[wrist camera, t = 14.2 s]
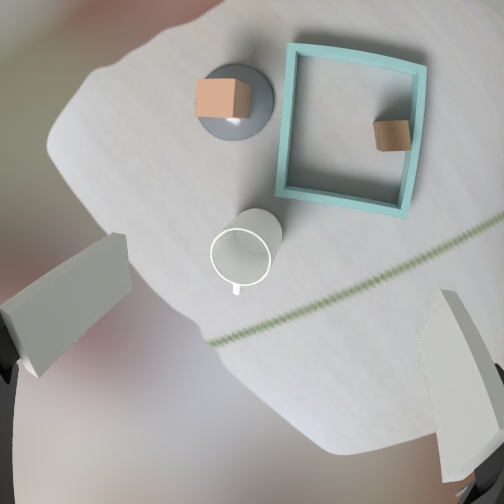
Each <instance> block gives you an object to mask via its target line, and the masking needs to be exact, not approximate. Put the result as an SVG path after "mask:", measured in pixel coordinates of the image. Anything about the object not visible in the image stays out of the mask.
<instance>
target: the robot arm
mask: <svg viewBox="0 0 504 504" xmlns="http://www.w3.org/2000/svg"><path fill="white" fill-rule="evenodd" d="M130 290H132V284H131V277H130V268H129V260H128V251H127V241H126V235H124V234H118V233H111V234H110V235H108V236H106V237H104V238H103V239H101V240H99V241H98V242H96V243H94V244H93V245H91V246H89V247H88V248H86V249H84V250H83V251H81V252H79V253H78V254H76V255H75V256H73V257H72V258H70V259H68V260H67V261H65V262H64V263H62V264H60V265H59V266H57V267H56V268H54V269H53V270H51V271H50V272H48V273H47V274H45V275H44V276H42V277H41V278H39V279H38V280H37V281H35V282H33V283H32V284H30V285H29V286H27V287H26V288H25V289H23V290H22V291H20V292H19V293H18V294H16V295H15V296H13V297H12V298H11V299H9V300H8V301H6V302H5V303H3V304H2V305H1V306H0V504H15V498H14V487H13V468H12V467H13V466H12V438H13V417H14V404H15V395H16V386H17V379H18V372H19V368H18V364H17V362H16V361H17V360H19V359H20V358H21V360H22V362H23V364H24V366H25V368H26V370H28V371H29V372H30V373H32V374H33V375H34V376H36V377H37V378H40V377H41V376H42V374H44V372H45V371H46V370H47V369H48V368H49V367H50V366H51V365H52V364H53V363H54V362H55V361H56V360H57V359H58V358H59V357H60V356H61V355H62V354H63V353H64V352H66V350H67V349H69V348H70V347H71V346H72V345H73V344H74V343H75V342H76V341H77V340H78V339H79V338H80V337H81V336H82V335H83V334H84V333H85V332H86V331H87V330H88V329H89V328H90V327H91V326H92V325H93V324H95V323H96V322H97V321H98V320H99V319H100V318H101V317H102V316H103V315H104V314H105V313H106V312H107V311H109V309H111V308H112V307H113V306H114V305H115V304H116V303H117V302H118V301H119V300H121V299H122V298H123V297H124V296H125V295H126V294H127V293H128V292H129V291H130ZM417 347H418V351H419V354H420V358H421V362H422V366H423V370H424V374H425V378H426V383H427V387H428V392H429V396H430V401H431V406H432V411H433V416H434V422H435V428H436V434H437V440H438V447H439V453H440V462H441V471H442V480H443V482H451V481H459V480H463V479H464V478H465V477H467V476H468V475H469V474H470V473H471V472H473V471H474V473H475V479H474V480H473V481H471V482H470V483H469V484H467V485H466V486H465V487H463V488H462V489H461V490H459V491H458V492H457V493H456V495H455V496H459V495H460V494H461V493H463V492H464V491H465V492H464V494H463V496H462V497H461V498H460V500H459V502H458V503H457V504H504V371H503V369H502V368H501V367H500V366H499V365H498V364H494V362H493V360H492V358H491V356H490V354H489V352H488V350H487V348H486V346H485V344H484V342H483V340H482V338H481V336H480V334H479V332H478V330H477V328H476V327H475V325H474V323H473V321H472V319H471V317H470V316H469V314H468V312H467V310H466V309H465V307H464V305H463V303H462V302H461V300H460V298H459V297H458V295H457V293H456V292H454V291H448V290H442V289H440V291H439V293H438V296H437V298H436V301H435V304H434V306H433V308H432V311H431V313H430V316H429V318H428V320H427V323H426V325H425V327H424V330H423V332H422V334H421V336H420V338H419V340H418V343H417Z"/></svg>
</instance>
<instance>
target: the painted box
mask: <svg viewBox="0 0 504 504" xmlns="http://www.w3.org/2000/svg"><path fill="white" fill-rule="evenodd" d="M251 89H252V86H250V85H248V84H246V83H243V82H241V81H239V80H237V79H197V91H196V106H195V116H197V117H221V118H244V119H249V116H250V102H251Z"/></svg>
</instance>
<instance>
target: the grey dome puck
mask: <svg viewBox="0 0 504 504" xmlns="http://www.w3.org/2000/svg"><path fill="white" fill-rule="evenodd" d="M206 79H237V80H239V81H241V82H243V83H246V84H248V85H250V86H252V89H251V102H250V116H249V119H244V118H221V117H198V118H199V121H200V122H201V124H202V126H203V127H204V128H205V129H206V130H207V131H208V132H209V133H210V134H212V135H213V136H215V137H217V138H220V139H223V140H228V141H237V140H243V139H247V138H249V137H251V136H253V135H255V134H256V133H258V132H259V131H260V130H261V129H262V128H263V127H264V126H265V125H266V124H267V122H268V120H269V119H270V116H271V114H272V111H273V105H274V99H273V93H272V89H271V87H270V85H269V83H268V82H267V80H266V79H265V78H264V77H263V76H262V75H261V74H260V73H259V72H257V71H256V70H254V69H252V68H250V67H247V66H243V65H229V66H224V67H221V68H219V69H217V70H215V71H214V72H212V73H211V74H210V75H208V76H207V77H206Z"/></svg>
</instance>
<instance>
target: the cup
mask: <svg viewBox="0 0 504 504" xmlns="http://www.w3.org/2000/svg"><path fill="white" fill-rule="evenodd" d="M281 242H282V228H281V225H280V223H279V221H278V220H277V219H276V217H275V216H274V215H272V214H271V213H270V212H268V211H266V210H263V209H258V208H253V209H248V210H245V211H243V212H242V213H240V214H239V215H238V216H237V217H236V218H235V219H233V220H232V221H231V222H230V223H229V224H228V225H227V226H226V227H225V228H224V229H223V230H222V231H221V232H220V233H219V234H218V235H217V236H216V238H215V239H214V241H213V243H212V245H211V251H210V255H211V261H212V264H213V266H214V268H215V269H216V271H217V272H218V273H219V275H220V276H222V277H223V278H224V279H225V280H227V281H229V282H231V283H233V292H234V294H236V295H238V294H240V293H241V292H242V291H243V289H244V287H245V286H247V285H253V284H256V283H258V282H260V281H261V280H262V279H264V278H265V277H266V275H267V274H268V272H269V270H270V268H271V265H272V263H273V261H274V259H275V256H276V254H277V252H278V249H279V247H280V245H281Z"/></svg>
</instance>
